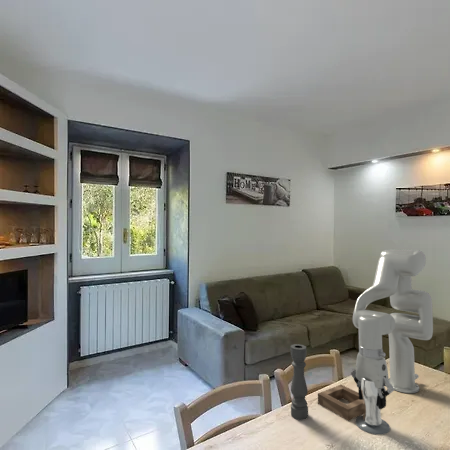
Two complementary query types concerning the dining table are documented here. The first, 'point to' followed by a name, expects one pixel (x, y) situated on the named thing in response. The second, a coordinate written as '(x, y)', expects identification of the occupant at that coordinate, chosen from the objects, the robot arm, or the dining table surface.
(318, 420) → the dining table surface
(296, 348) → the candle holder
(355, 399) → the frame
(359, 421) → the coaster
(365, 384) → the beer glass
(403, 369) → the robot arm
